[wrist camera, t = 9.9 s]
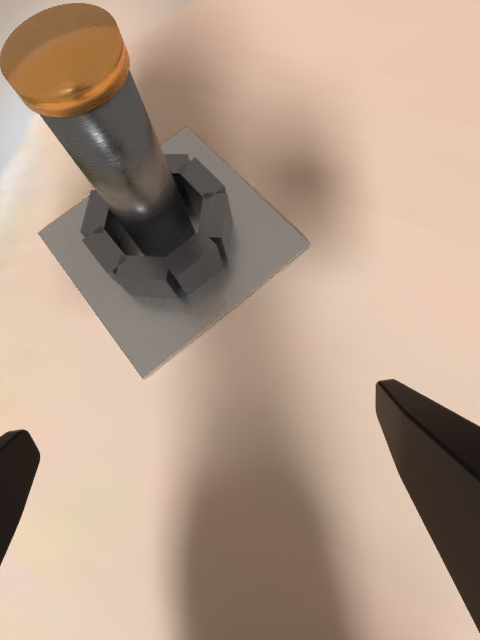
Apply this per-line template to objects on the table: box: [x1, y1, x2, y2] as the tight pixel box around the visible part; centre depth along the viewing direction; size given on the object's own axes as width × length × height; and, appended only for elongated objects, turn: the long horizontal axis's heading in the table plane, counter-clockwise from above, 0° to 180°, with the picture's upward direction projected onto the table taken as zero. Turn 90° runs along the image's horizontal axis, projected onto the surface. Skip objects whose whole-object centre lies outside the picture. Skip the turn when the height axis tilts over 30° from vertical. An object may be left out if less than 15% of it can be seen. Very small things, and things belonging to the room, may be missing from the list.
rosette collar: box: [38, 127, 310, 379], centre depth 24 cm, size 14×14×4 cm
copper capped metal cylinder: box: [0, 3, 195, 257], centre depth 19 cm, size 4×4×13 cm
